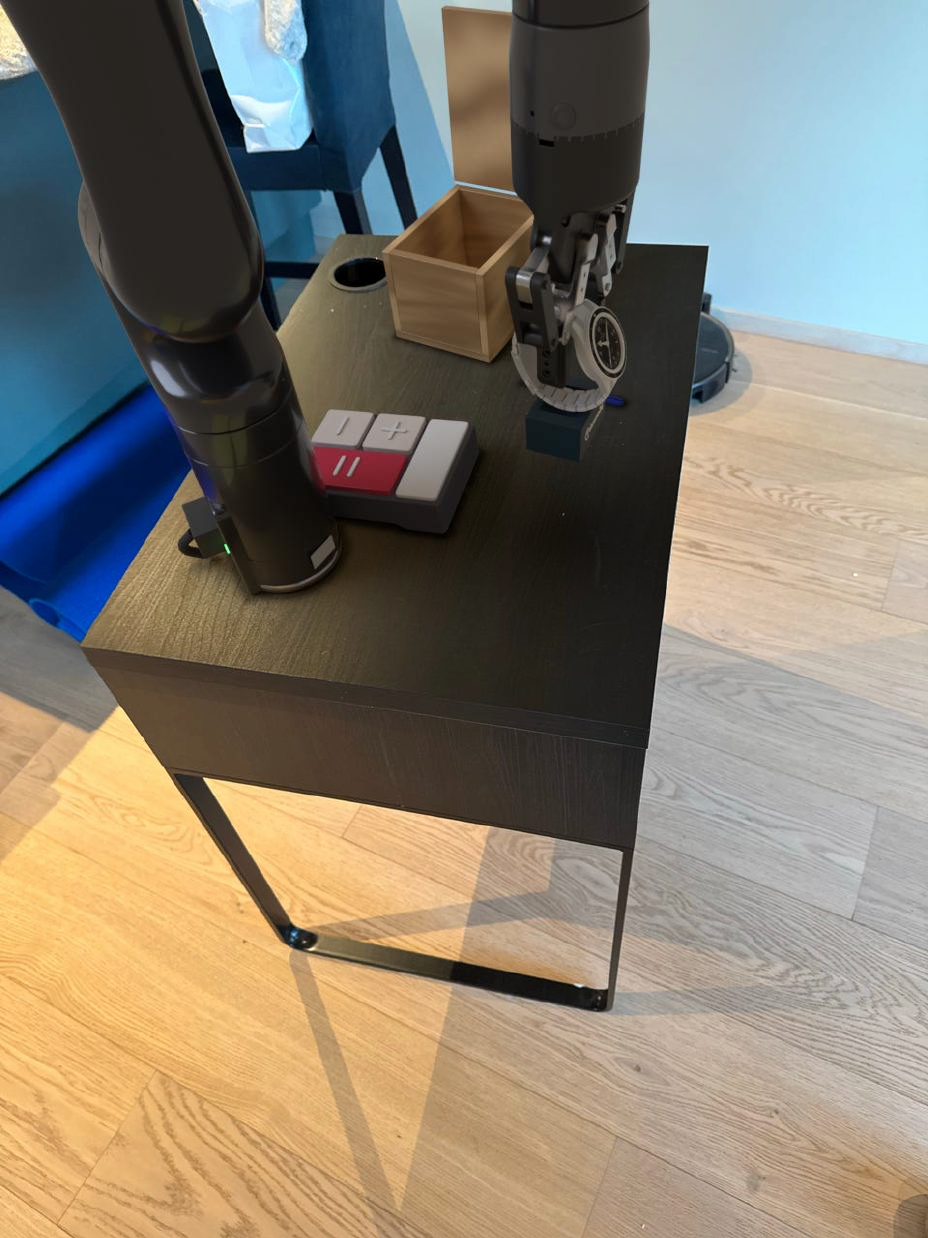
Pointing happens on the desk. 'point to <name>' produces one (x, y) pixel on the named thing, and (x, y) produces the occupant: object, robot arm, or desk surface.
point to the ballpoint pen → (614, 401)
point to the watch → (574, 385)
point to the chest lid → (479, 94)
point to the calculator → (395, 467)
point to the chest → (459, 271)
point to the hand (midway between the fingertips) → (570, 361)
